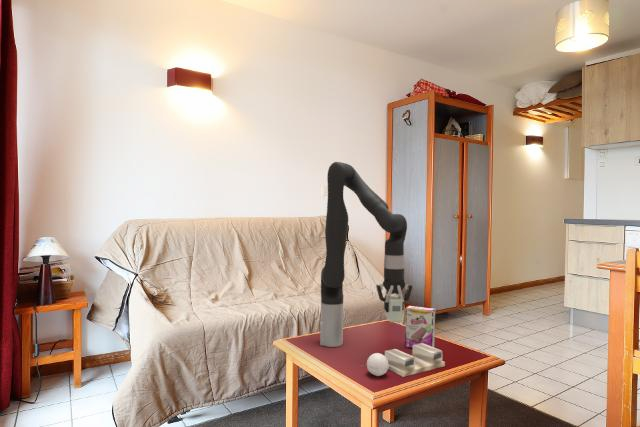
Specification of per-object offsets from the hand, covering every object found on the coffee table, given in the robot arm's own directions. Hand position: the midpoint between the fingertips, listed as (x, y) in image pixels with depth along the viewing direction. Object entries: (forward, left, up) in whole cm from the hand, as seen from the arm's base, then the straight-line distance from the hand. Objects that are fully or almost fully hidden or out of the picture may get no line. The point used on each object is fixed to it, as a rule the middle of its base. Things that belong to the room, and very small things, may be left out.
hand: (393, 311), depth 157 cm
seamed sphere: (-9, -17, -18) cm, 26 cm away
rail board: (+6, -8, -18) cm, 20 cm away
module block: (0, 0, -3) cm, 3 cm away
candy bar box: (+12, +12, -18) cm, 25 cm away
